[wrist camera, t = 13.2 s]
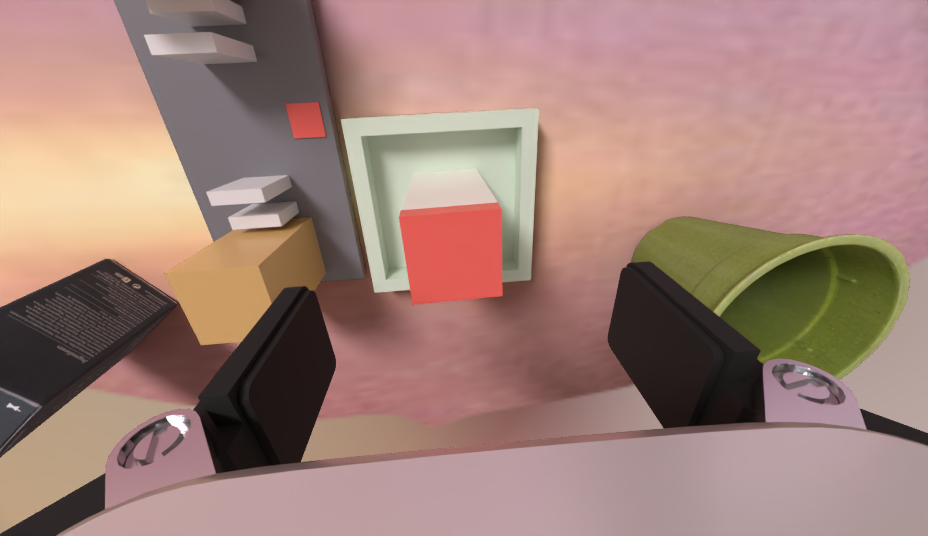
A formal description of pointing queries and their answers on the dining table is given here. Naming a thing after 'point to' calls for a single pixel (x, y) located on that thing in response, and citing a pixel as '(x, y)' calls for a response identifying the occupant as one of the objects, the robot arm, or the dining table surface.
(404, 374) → the dining table surface
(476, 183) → the white block red top
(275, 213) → the fuse block
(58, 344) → the box
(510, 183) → the tray
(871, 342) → the plant pot
